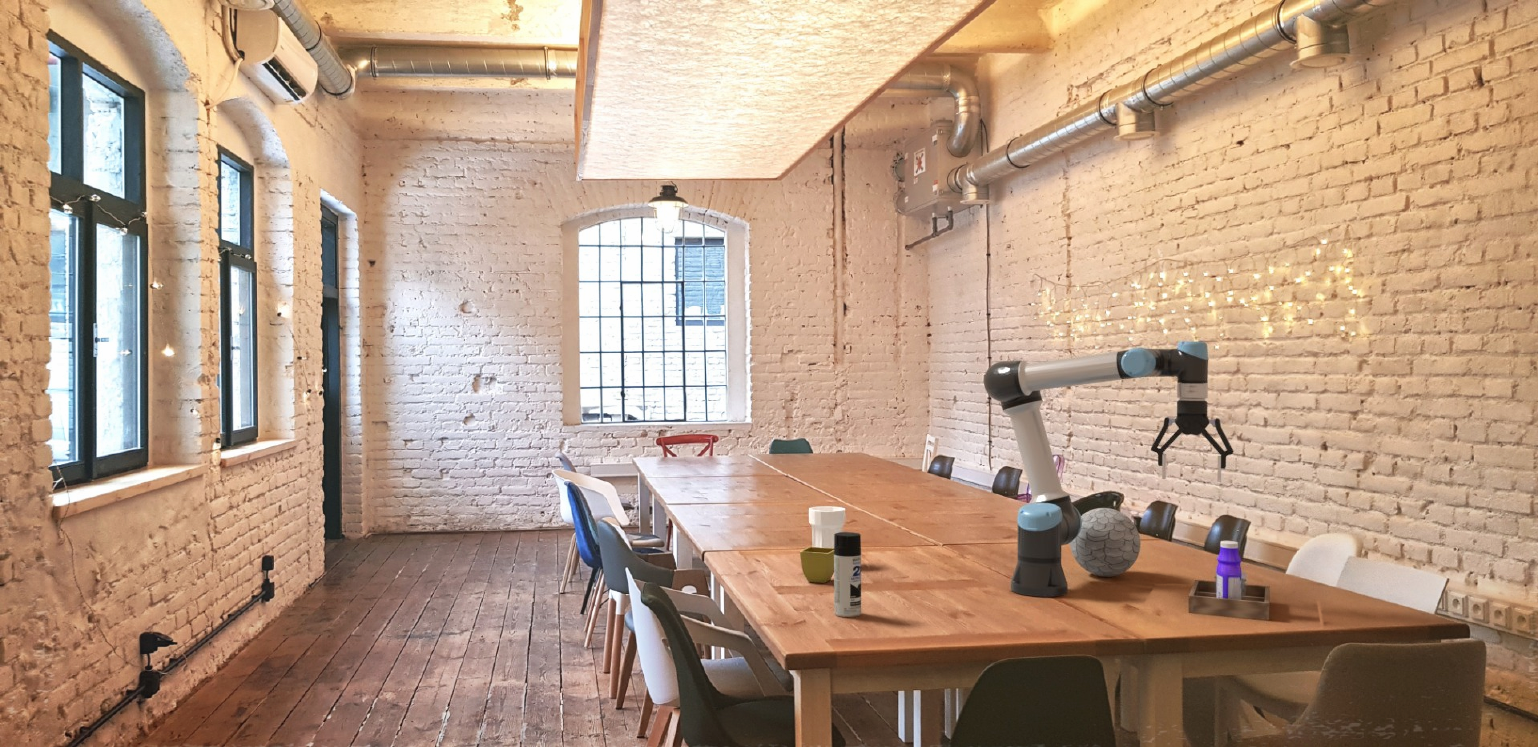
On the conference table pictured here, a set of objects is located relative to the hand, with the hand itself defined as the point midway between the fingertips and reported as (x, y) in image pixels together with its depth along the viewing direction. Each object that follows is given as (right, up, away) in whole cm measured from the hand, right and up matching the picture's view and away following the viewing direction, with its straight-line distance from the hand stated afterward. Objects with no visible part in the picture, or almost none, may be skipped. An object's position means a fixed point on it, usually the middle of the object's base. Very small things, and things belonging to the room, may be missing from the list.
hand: (1191, 479), depth 282 cm
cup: (-94, -31, +45) cm, 109 cm away
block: (+7, -31, -7) cm, 33 cm away
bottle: (+3, -31, -17) cm, 36 cm away
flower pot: (-98, -31, +21) cm, 105 cm away
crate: (+5, -32, -12) cm, 34 cm away
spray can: (-92, -32, -19) cm, 99 cm away
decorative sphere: (-13, -32, +31) cm, 46 cm away
